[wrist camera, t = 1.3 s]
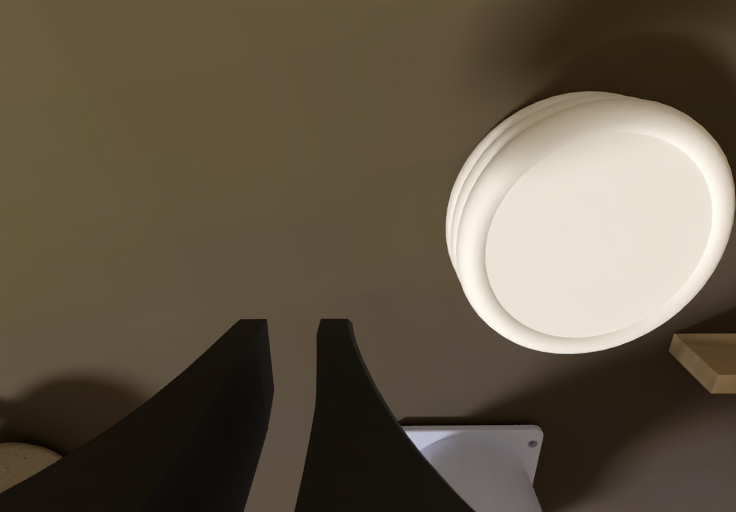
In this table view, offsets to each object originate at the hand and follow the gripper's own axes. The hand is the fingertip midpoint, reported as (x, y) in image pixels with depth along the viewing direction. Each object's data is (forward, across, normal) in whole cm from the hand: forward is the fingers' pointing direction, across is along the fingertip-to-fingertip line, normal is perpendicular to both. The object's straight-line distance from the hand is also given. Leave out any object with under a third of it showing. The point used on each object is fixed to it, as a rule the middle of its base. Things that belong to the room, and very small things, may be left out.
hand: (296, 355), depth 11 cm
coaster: (+10, -10, 0) cm, 14 cm away
